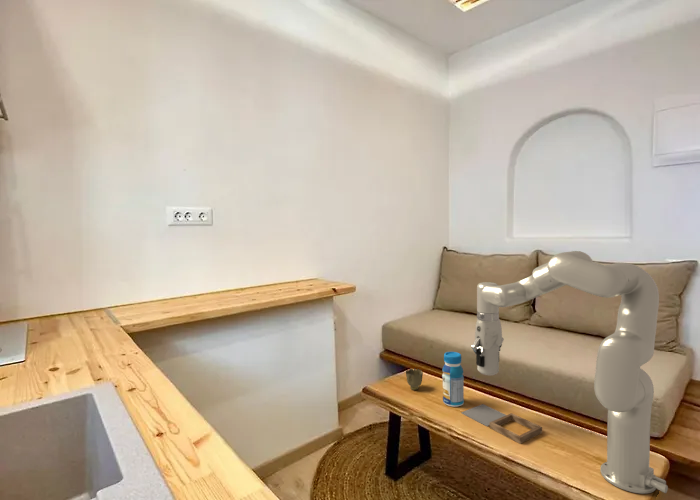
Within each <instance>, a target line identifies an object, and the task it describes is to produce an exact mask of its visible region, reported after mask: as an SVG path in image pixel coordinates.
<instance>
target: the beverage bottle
mask: <svg viewBox="0 0 700 500" xmlns="http://www.w3.org/2000/svg"><path fill="white" fill-rule="evenodd" d="M443 361H444V365H443V366H442V375H441V377H442V378H441V379H442V402H443V404H445V405H447V406H448V407H451V408H452V407H454V408H457V407H462V406H463V405H464V403H465V400H464V398H465V396H464V395H465V394H464V390H465V388H464V385H465V384H464V383H465V382H464V381H465V379H464V378H465V377H464V368H463V367H462V365H461V364H462V354H461V353H460V352H457V351H446V352H444V354H443Z"/></svg>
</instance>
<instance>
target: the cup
mask: <svg viewBox="0 0 700 500" xmlns="http://www.w3.org/2000/svg"><path fill="white" fill-rule="evenodd" d="M405 375H406V377H405V378H406V383H407V384H408V385H409V386H410V389H411V390H412V391H417V390H419V388H420V386H421V384H422V382H423V375H424V371H422V369H419V368H417V369H416V368H414V369H413V368H409V369H407V370H405Z"/></svg>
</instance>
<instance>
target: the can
mask: <svg viewBox="0 0 700 500" xmlns="http://www.w3.org/2000/svg"><path fill="white" fill-rule="evenodd" d="M496 343H497V342H496ZM496 343H492V344H493V345H492V346H491V347H490V349H488V350H485V352H484V354H483V356H484V367H481V366H478V365H477V364H476V366H477V367H476V368H477V371H478V372H479V373H480V374H481V375H484V376H495V375H497V374H498V373H499V372H500V366H499V365H500V351H499V346H498V345H497V344H496ZM479 346H480V347H482V346H481V345H479ZM481 350H482V349H480V348H479V351H480V352H481Z"/></svg>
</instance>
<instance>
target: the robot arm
mask: <svg viewBox="0 0 700 500" xmlns="http://www.w3.org/2000/svg"><path fill="white" fill-rule="evenodd" d="M565 286H568V287H571V288H573V289H575V290H579V291H582V292H585V293H587V294H590V295H593V296H596V297H601V298H606V299H608V298H609V299H610V298H615V297H618V296H621V297H620V298H621V301H620V304H619V307H618V310H617V319H616V327H615V330H614V332H613V333H612V334H610V335H608V336H606V337H605V338H604V339H603V340H602V341H601V342H600V345H599V347H598V349H597V353H596V361H595V362H596V363H595V370H594V371H595V373H594V381H593V382H594V383H593V390H594V394H595V397H596V398H597V401H598V402H599V403H600V404H601V406H602V407H604V408H605V409H606V410H607V429H606V430H607V432H606V433H607V434H606V436H607V437H606V438H607V440H606V444H607V445H606V456H607V457H606V458H607V459H606V461H605V462H604V463H602V464H601V466H600V470H599V471H600V474H601V476H602V477H603V478H604V479H605V480H606V481H607V482H608V483H609V484H611V485H613V486H615V487H617V488H618V489H621V490H623V491H627V492H630V493H633V494H634V493H635V494H642V495H644V494H651V493H653V492H655V491H656V490H658V491H660V492H662V493H664V494H667V492H668V489H669V487H668V485H667V481H666V480H665V479H662V478H661V477H658V476H656V474H655V473H654V471H655V469H654V468H653V467H651V466H650V459H651V458H650V454H651V453H650V452H651V451H650V449H651V448H650V445H651V440H650V439H651V419H652V418H651V415H652V406H653V401H654V395H655V393H654V392H655V391H654V388H655V387H654V384H653V380H652V378H651V377H650V375H649V374H648V372H646V371H645V370H643V369H642V368H641V367H642V366H643V365H646V364H647V363H648V362H649V361H650V360H651V359H652V358H653V356H654V354H655V345H656V344H655V342H656V336H657V335H656V332H657V327H658V314H659V305H660V293H659V288H658V285H657V283H656V281H655V280H654V278H653V276H652V275H650V273H648V271H646V270H645V269H643V268H642V267H640V266H637V265H636V264H634V263H628V262H616V263H610V264H606V265H604V264H602V263H601V264H600V263H597V262H594V261H593V259H592V258H591V256H590V255H588V254H587V253H586V252H583V251H579V250H578V251H577V250H571V251H563V252H559V253H557V254H555V255H553V256H552V257H551V258H549V261H548V262H546V263H543V264H541V265H539V266H537V267H535V268H534V269H532V273H531V275H529V276H528V277H525V278H523V279H521V280H518V281H516V282H512V283H507V284H506V283H505V284H502V285H498V283H496V282H489V281H486V282H485V281H483V282H479V283H478V284H477V286H476V322H475V330H474V341H473V343H472V345H471V349H472V351H473V352H474V355H475V356H476V358H475V361H476V363H475V364H476V366H477V365H478V366H481V367H484V356H483V354H484V352H485V350H488V349H490V347H491V346H492V345H493V344H492V343H496V342H497V343H496V344H497V345H498V346H499V352H501V348H502V347H503V343H504V340H505V339H504V337H503V331H502V324H501V319H500V316H499V315H500V308H508V307H511V306H514V305H515V306H517V305H520V304H524V303H526V302H528V301H531V300H533V299H536V298H538V297H540V296H542V295H545V294H549V293H550V292H553V291H555V290H558V289H560V288H562V287H565ZM479 345H481V346H482V347H480V346H479ZM479 348H480V349H482V350H481V352H480V351H479Z"/></svg>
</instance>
